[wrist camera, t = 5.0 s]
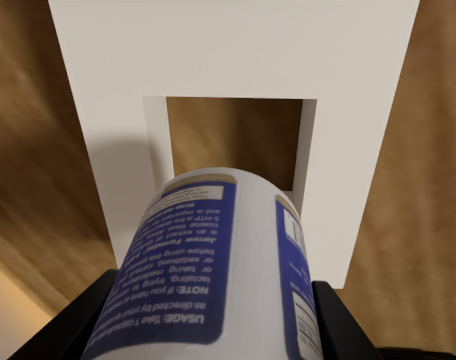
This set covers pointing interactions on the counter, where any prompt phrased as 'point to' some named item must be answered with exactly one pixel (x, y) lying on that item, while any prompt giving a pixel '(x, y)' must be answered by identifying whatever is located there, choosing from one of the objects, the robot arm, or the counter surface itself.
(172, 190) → the pill bottle
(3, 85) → the counter surface
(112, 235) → the socket block
